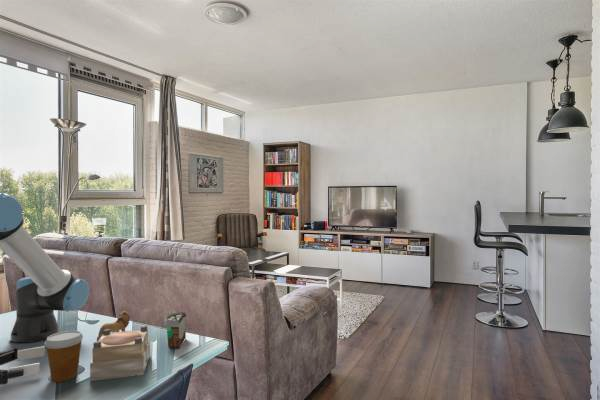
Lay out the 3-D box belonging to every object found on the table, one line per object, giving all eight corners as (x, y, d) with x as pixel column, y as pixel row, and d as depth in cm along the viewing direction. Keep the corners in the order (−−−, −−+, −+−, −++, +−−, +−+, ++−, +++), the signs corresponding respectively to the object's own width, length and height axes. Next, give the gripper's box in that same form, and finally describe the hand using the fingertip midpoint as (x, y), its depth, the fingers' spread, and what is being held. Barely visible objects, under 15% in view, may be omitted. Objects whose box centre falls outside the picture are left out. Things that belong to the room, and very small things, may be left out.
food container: (169, 338, 139) (169, 311, 139) (186, 337, 139) (186, 310, 139) (160, 351, 126) (159, 321, 127) (178, 350, 127) (178, 321, 127)
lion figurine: (122, 332, 146) (122, 309, 146) (133, 333, 144) (133, 310, 144) (91, 346, 132) (91, 320, 132) (103, 347, 130) (103, 321, 130)
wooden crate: (102, 361, 119) (102, 329, 119) (149, 356, 122) (149, 325, 123) (90, 381, 105) (90, 344, 105) (143, 374, 109) (143, 339, 109)
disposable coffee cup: (65, 386, 102) (64, 342, 103) (36, 383, 104) (36, 340, 104) (91, 371, 112) (90, 331, 112) (64, 368, 114) (63, 329, 114)
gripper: (-44, 372, 105) (46, 356, 116) (-79, 415, 84) (36, 391, 94) (-44, 346, 105) (46, 332, 116) (-79, 382, 84) (36, 361, 94)
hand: (42, 359), depth 105 cm, fingers open, 13 cm apart
